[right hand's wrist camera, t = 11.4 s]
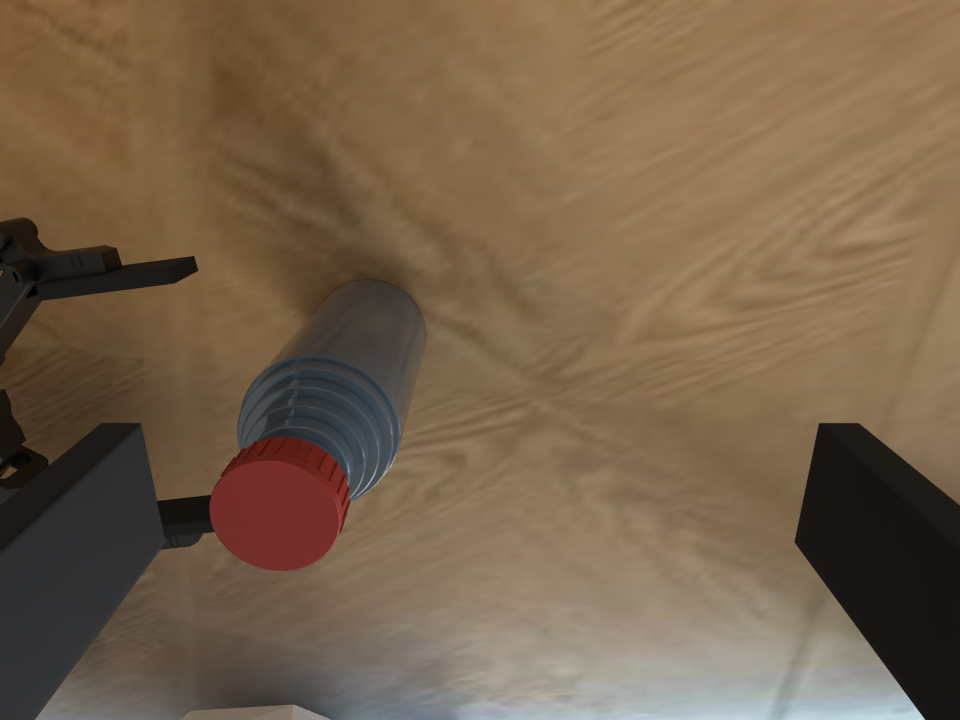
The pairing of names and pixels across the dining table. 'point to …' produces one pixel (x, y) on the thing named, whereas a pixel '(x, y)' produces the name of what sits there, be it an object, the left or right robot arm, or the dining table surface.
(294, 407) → the bottle
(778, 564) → the dining table surface
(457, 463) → the dining table surface
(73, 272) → the left robot arm
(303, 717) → the sphere
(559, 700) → the dining table surface
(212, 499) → the cap
